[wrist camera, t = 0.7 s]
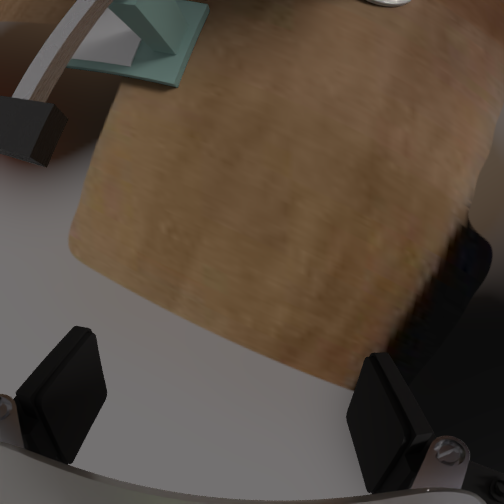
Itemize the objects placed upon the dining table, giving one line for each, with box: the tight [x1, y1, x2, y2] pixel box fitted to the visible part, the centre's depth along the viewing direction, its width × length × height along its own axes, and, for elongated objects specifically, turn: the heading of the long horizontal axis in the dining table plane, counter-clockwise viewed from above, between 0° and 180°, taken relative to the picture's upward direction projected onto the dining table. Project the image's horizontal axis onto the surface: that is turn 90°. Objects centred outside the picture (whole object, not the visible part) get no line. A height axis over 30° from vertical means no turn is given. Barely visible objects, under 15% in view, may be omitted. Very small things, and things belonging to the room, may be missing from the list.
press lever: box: [0, 0, 113, 167], centre depth 14 cm, size 16×6×3 cm, turn 161°
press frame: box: [66, 0, 210, 88], centre depth 24 cm, size 11×17×16 cm, turn 71°
